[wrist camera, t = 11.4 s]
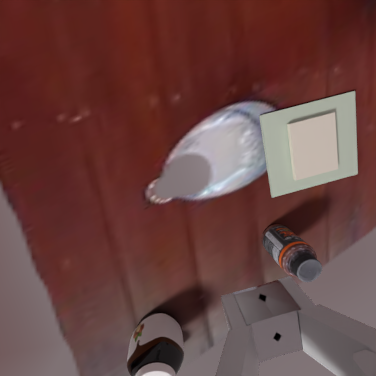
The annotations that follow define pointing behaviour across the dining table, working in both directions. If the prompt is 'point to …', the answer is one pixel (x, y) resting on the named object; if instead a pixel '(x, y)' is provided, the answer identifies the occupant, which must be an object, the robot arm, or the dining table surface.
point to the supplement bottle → (291, 253)
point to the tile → (313, 146)
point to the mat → (280, 150)
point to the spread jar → (156, 346)
